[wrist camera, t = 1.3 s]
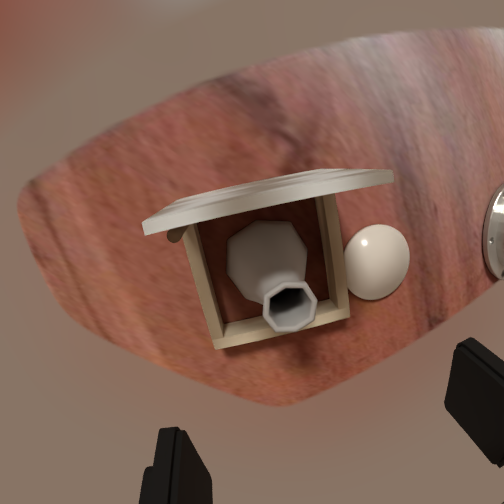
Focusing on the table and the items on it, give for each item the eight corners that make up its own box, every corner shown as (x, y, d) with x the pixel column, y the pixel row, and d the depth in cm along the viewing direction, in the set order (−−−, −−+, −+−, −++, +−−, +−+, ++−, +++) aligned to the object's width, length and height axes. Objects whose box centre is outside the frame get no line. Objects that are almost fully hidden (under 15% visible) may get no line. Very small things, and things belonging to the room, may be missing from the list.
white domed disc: (404, 217, 27) (406, 218, 27) (408, 287, 29) (410, 288, 29) (335, 233, 27) (337, 234, 26) (344, 306, 29) (346, 308, 28)
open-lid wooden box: (320, 168, 25) (392, 170, 14) (340, 305, 29) (400, 378, 17) (178, 199, 25) (141, 222, 13) (215, 335, 28) (214, 429, 17)
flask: (315, 285, 28) (357, 340, 18) (237, 308, 28) (246, 375, 18) (297, 207, 26) (339, 229, 16) (213, 231, 26) (208, 267, 16)
